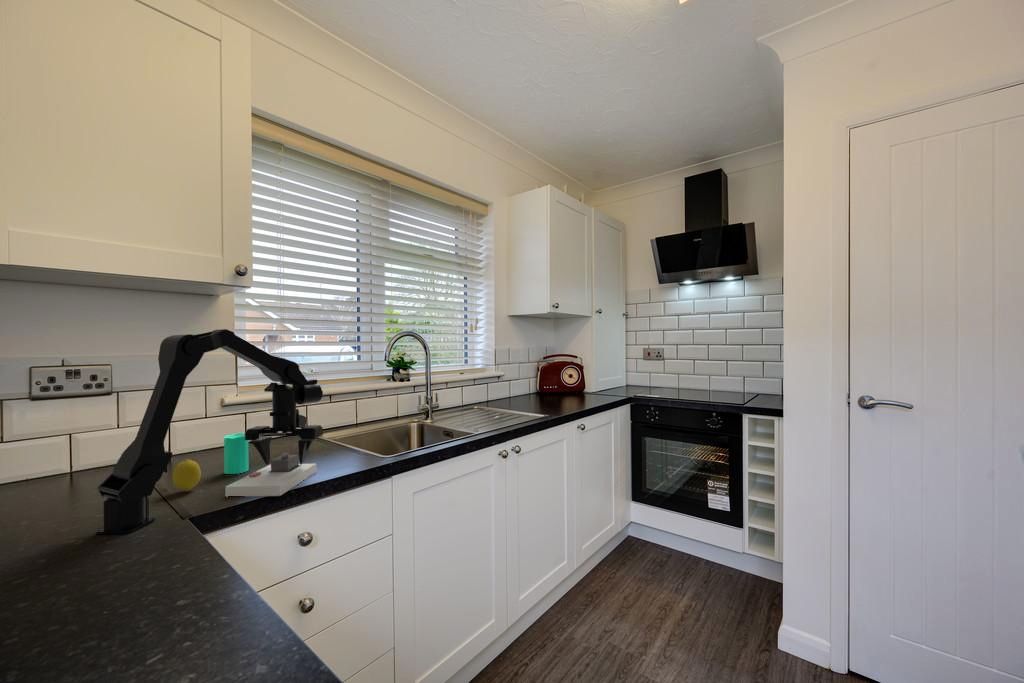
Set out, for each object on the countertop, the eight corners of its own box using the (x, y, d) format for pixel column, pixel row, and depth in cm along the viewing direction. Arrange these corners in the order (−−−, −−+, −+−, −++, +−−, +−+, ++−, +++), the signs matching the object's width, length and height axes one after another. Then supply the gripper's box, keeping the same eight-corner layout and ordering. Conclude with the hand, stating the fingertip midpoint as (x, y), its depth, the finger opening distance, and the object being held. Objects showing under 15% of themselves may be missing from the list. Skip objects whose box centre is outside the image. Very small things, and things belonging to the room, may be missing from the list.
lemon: (176, 497, 101) (176, 463, 101) (169, 492, 104) (169, 459, 104) (204, 490, 105) (203, 458, 105) (196, 486, 108) (196, 455, 108)
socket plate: (280, 495, 100) (280, 483, 100) (225, 496, 100) (225, 484, 100) (316, 472, 119) (316, 461, 119) (270, 472, 119) (270, 462, 119)
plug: (288, 479, 112) (287, 455, 112) (271, 479, 112) (270, 455, 112) (298, 472, 117) (298, 450, 117) (282, 473, 117) (282, 450, 117)
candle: (228, 470, 122) (228, 429, 123) (251, 468, 124) (251, 427, 124) (220, 476, 117) (220, 432, 117) (245, 474, 118) (245, 431, 119)
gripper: (331, 402, 123) (331, 455, 123) (267, 403, 123) (267, 457, 123) (313, 407, 112) (314, 466, 112) (243, 409, 112) (243, 468, 111)
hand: (284, 464), depth 115 cm, fingers open, 9 cm apart
